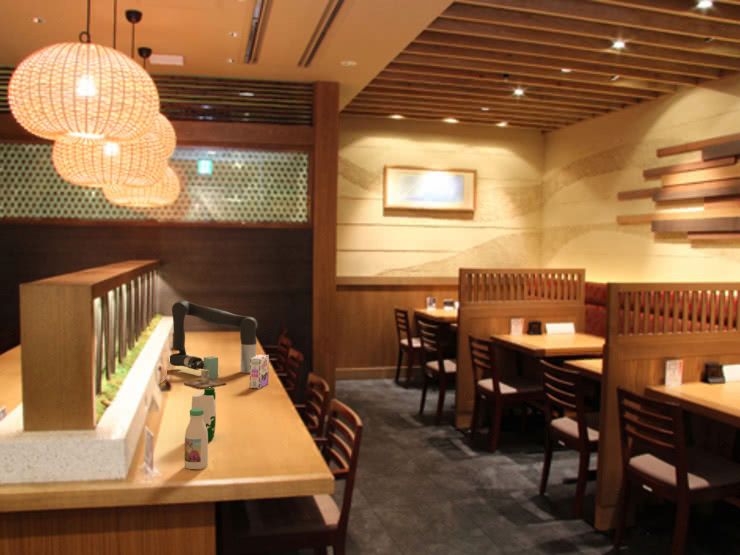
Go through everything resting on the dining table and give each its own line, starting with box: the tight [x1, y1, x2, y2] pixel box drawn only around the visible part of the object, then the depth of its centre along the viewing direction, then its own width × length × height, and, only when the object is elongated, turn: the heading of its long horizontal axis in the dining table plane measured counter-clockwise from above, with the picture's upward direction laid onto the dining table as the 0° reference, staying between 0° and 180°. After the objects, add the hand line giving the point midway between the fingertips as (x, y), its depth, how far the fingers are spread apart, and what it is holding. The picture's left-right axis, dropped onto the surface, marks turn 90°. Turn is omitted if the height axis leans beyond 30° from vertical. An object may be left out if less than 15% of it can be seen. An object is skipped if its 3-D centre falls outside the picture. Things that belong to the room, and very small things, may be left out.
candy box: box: [249, 354, 270, 390], centre depth 345 cm, size 14×6×16 cm, turn 168°
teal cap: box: [203, 356, 219, 380], centre depth 363 cm, size 6×6×12 cm
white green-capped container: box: [191, 387, 217, 442], centre depth 249 cm, size 9×9×20 cm
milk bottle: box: [184, 408, 209, 470], centre depth 218 cm, size 8×8×20 cm
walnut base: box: [183, 369, 227, 390], centre depth 346 cm, size 16×16×8 cm
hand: (209, 366), depth 364 cm, fingers open, 8 cm apart
